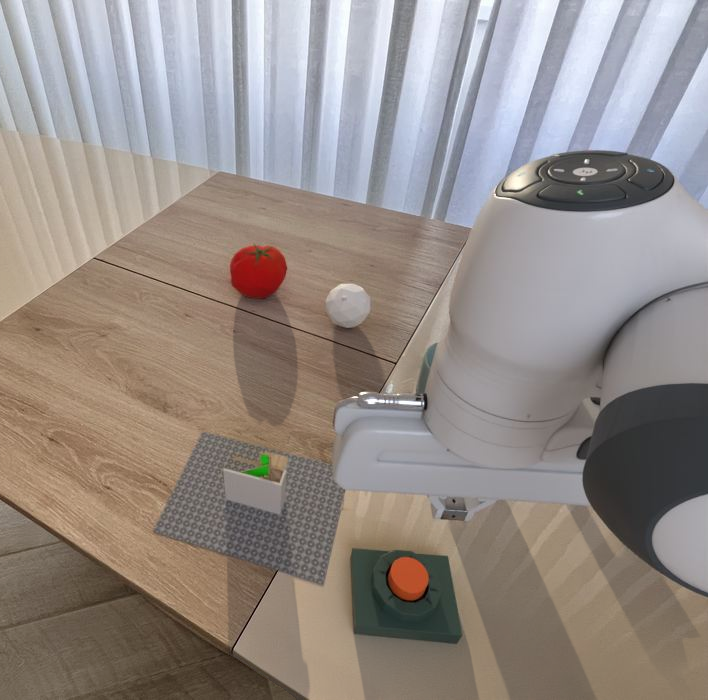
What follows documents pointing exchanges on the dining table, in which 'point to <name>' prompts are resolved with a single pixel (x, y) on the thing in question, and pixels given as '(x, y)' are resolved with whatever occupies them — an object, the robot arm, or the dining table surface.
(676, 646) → the dining table surface
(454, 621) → the dimmer block
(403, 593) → the button
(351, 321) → the ornament
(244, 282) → the tomato
